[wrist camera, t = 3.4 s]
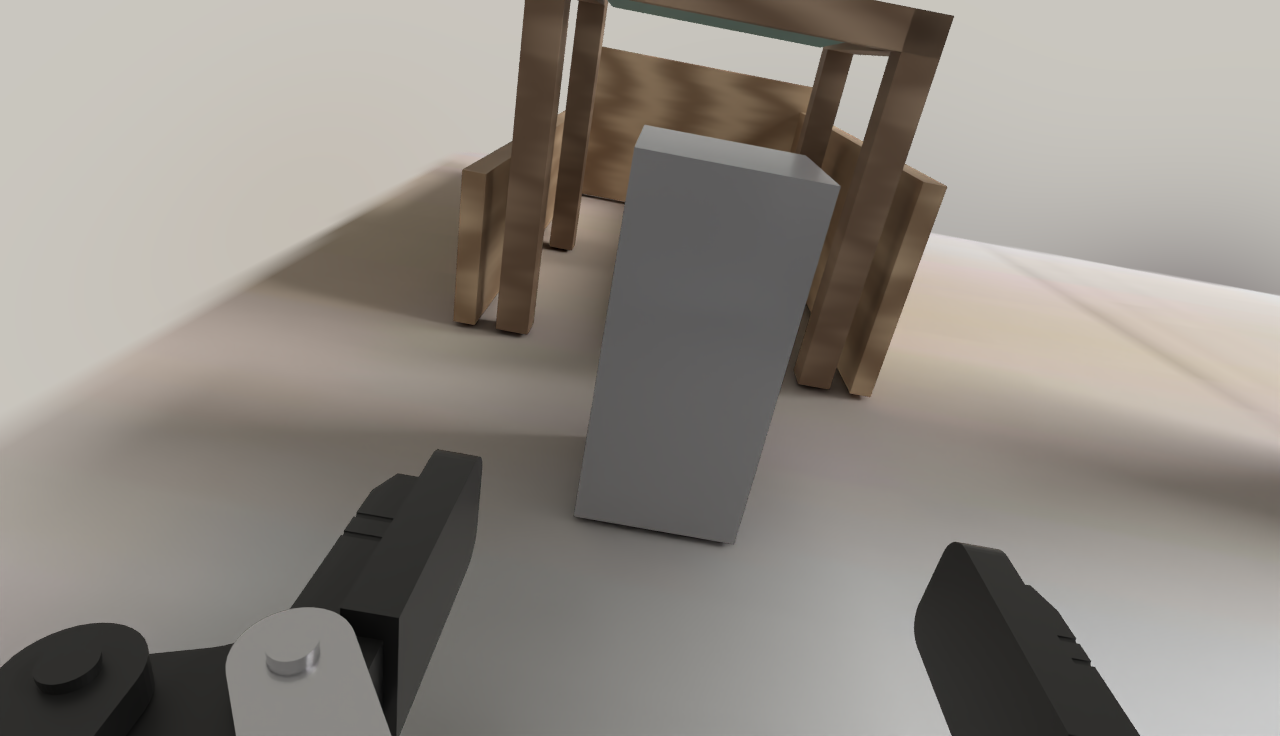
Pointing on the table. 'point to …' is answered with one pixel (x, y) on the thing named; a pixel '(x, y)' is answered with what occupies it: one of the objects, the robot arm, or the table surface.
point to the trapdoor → (722, 23)
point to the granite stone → (699, 329)
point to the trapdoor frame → (724, 109)
